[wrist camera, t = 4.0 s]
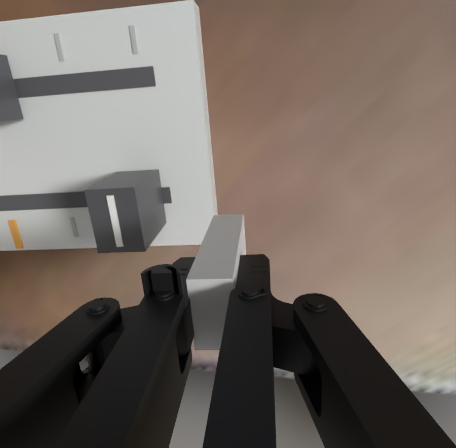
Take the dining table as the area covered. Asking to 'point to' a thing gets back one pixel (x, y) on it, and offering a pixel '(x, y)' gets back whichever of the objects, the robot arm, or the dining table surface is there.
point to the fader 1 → (8, 93)
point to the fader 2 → (126, 210)
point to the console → (104, 121)
